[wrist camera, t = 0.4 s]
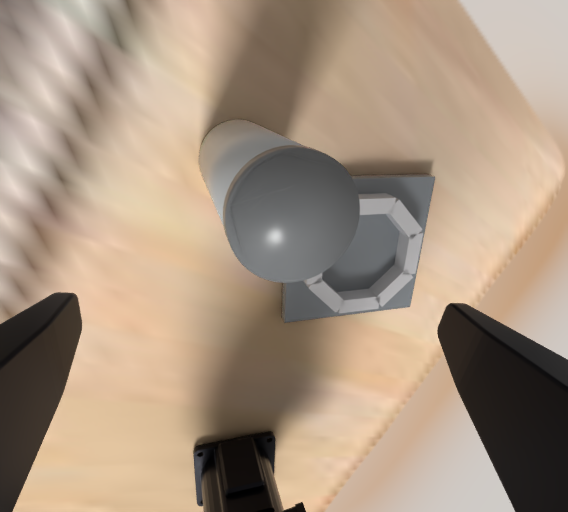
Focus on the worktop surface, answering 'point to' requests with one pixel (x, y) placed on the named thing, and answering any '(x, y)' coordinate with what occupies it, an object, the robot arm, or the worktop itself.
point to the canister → (278, 201)
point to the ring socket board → (370, 253)
